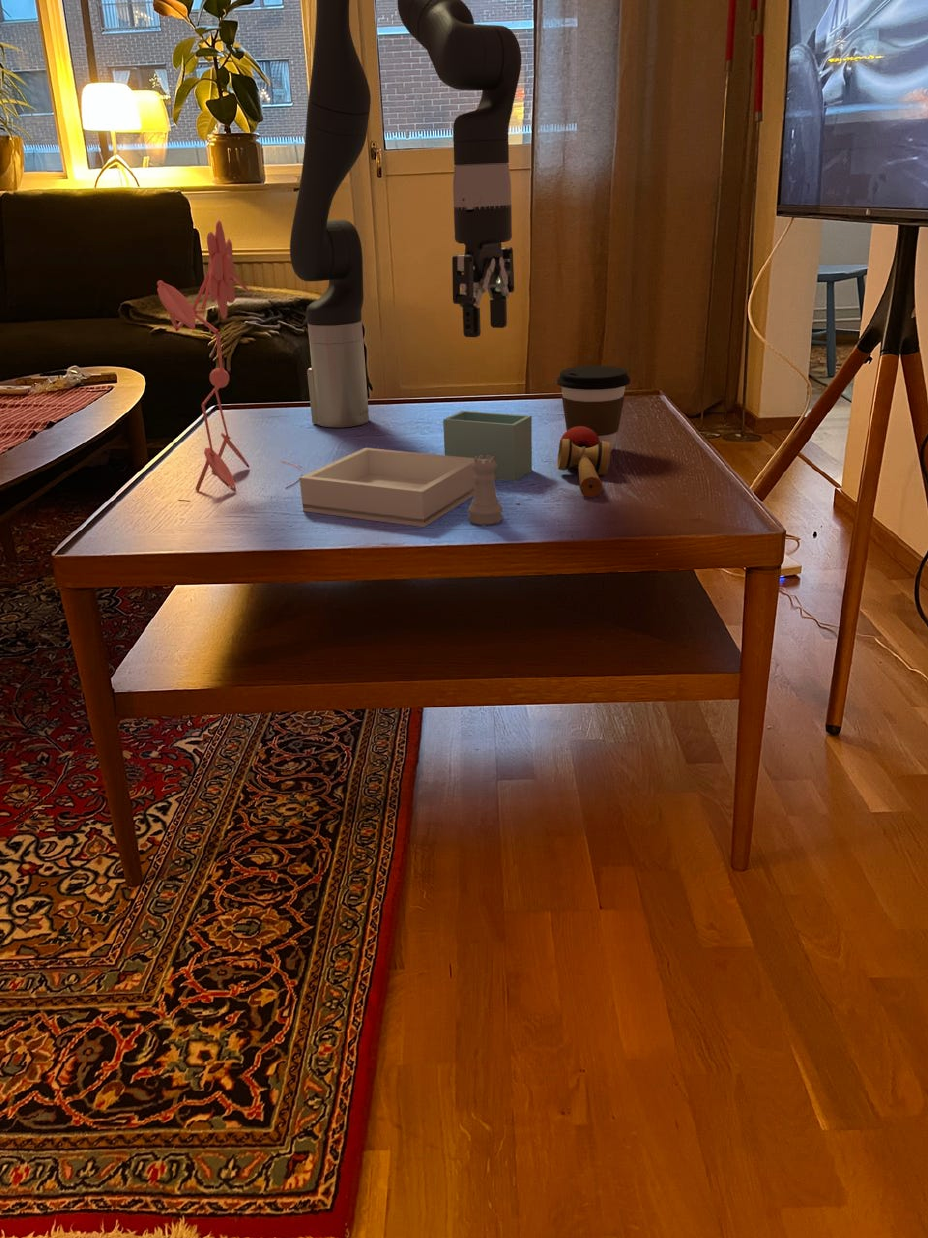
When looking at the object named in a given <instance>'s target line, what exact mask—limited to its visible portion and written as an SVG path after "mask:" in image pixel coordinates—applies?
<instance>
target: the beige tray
mask: <svg viewBox="0 0 928 1238" xmlns="http://www.w3.org/2000/svg"><path fill="white" fill-rule="evenodd" d="M473 462H474V458H467V457H456V456H446V455H445V454H444V455H443V454H437V453H436V454H435V453H423V452H414V451H405V450H393V449H382V448H375V447H374V448H373V447H364V448H361V449H359V450H357V451H355V452H353V453H350V454H349V455H346V456H344V457H342V458H339V459H337V460H336V461H333V462H331V463H328V464H327V465H324V466H323V467H320V468H318V469H316V470H313V471H311V472H309V473H307V474H305V475H302V477H301V476H299V479H300V480H299V484H300V486H299V487H300V493H301V504H302V505H301V506H302V510H303V511H302V512H306V513H307V512H308V513H315V514H324V515H329V516H337V517H338V516H339V517H344V518H345V517H347V518H352V519H360V520H368V521H374V522H384V523H390V524H398V525H404V526H411V527H420V528H425V527H426V526H428V525H430V524H431V523H433V522H435V521H436V520H437V519H439V518H441V517H442V516H444V515H445V514H447V513H449V512H450V511H452V510H453V509H455V508H456V507H458V506H459V505H461V504H463V503H465V502H466V501H467V500H469V499H470V498H472V497H474V489H475V480H474V479H473V477H474V476H475V472H474V470H473V469H472V467H471V465H472V463H473Z"/></svg>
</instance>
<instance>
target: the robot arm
mask: <svg viewBox="0 0 928 1238" xmlns="http://www.w3.org/2000/svg"><path fill="white" fill-rule="evenodd" d="M315 1H316V4H315V7H316V8H315V10H316V11H315V34H314V44H313V45H314V47H313V57H312V65H311V66H312V68H311V75H310V76H311V77H310V85H309V91H308V99H307V109H306V110H307V111H306V122H305V139H304V150H303V158H302V167H301V176H300V180H299V181H300V182H299V190H298V194H297V200H296V205H295V209H294V214H293V220H292V224H291V225H292V226H291V229H290V230H291V231H290V240H289V256H290V263H291V267H292V270H293V272H294V273H295V274H294V275H296V276H297V277H298V279H300V280H301V281H305V282H323V281H328V287H327V289H326V291H325V292H324V293H323V294H322V295H321V296H320V297H319V298H318V299H316V300H314V301H313V302H311V303H310V304H309V305H307V306H306V322H307V329H308V330H307V331H308V342H309V343H308V344H309V351H310V362H311V367H309V368H308V369H307V371H306V372H307V382H308V384H307V385H308V392H309V393H308V394H309V401H310V412H311V413H310V414H311V422H312V424H314V425H317V426H321V427H325V428H350V427H355V426H356V427H357V426H360V425H365V424H366V423H368V422H369V421H370V417H369V416H370V415H369V412H370V411H369V410H370V409H369V402H368V399H369V398H368V389H367V384H368V383H367V373H366V361H365V360H366V357H365V348H364V334H363V333H364V332H363V322H362V310H363V306H364V296H365V295H364V271H363V270H364V268H363V267H364V264H363V263H364V261H363V249H362V241H361V238H360V235H359V232H358V230H357V229H356V226H354V224H353V223H352V222H351V221H349V220H346V219H328V218H329V214H330V209H331V207H332V202H333V199H334V197H335V195H336V193H337V191H338V189H339V187H340V186H341V184H342V183H343V181H344V180H345V178H346V177H347V175H348V174H349V173H350V171H351V170H352V168H353V167H354V166H355V164H356V162H357V160H358V159H359V157H360V155H361V153H362V152H363V149H364V146H365V142H366V139H367V136H368V135H367V134H368V127H369V118H370V110H371V103H372V100H371V99H372V98H371V96H372V95H371V89H370V85H369V83H368V82H369V81H368V79H367V76H366V74H365V71H364V67H363V65H362V62H361V61H360V57H359V56H358V54H357V53H358V52H357V50H356V48H355V44H354V42H353V38H352V33H351V29H350V0H315ZM397 11H398V16H399V18H400V20H401V23H402V24H403V26H404V28H405V29H406V30H407V32H409V34H410V35H411V36H412V37H413V38H414V39H415V40H416V41H417V42H418V43H419V44H420V45H421V46H422V48H424V49H426V51H427V54H428V56H429V59H430V60H431V63H432V65H433V67H434V69H435V73H436V75H437V77H438V78H439V80H440V81H441V82H442V83H443V84H445V85H446V86H448V87H450V88H452V89H454V90H459V91H482V92H481V98H480V100H479V103H478V106H477V108H476V109H475V110H472V111H468V112H465V113H462V114H460V115H458V116H456V118H455V119H454V120H453V121H454V122H453V127H452V142H453V164H454V166H453V178H452V179H453V180H452V193H453V194H452V195H453V199H452V201H453V225H454V226H453V227H454V240H455V242H456V244H463V245H464V246H465V247H464V253H463V254H453V256H452V260H451V261H452V262H451V263H452V267H451V268H452V271H451V272H452V302H453V304H455V305H459V307H460V308H462V328H463V329H462V330H463V335H464V337H465V338H478V337H480V335H482V334H481V333H482V332H481V331H482V330H481V307H480V304H481V301H482V296H483V294H484V293H486V292H488V295H489V298H490V300H489V305H490V307H489V309H490V310H489V312H490V317H489V318H490V326H491V328H493V329H496V328H497V329H503V328H506V327H507V326H508V325H507V324H508V315H507V313H508V312H507V311H508V310H507V309H508V308H507V304H508V303H507V300H508V299H509V297H510V294H511V293H514V292H515V275H514V274H515V271H514V267H515V266H514V250H513V247H511V246H507V247H506V246H504V247H502V243H507V242H509V241H511V240H512V238H513V237H512V236H513V230H512V229H513V228H512V227H513V224H512V218H513V217H512V215H513V214H512V181H511V179H512V178H511V173H510V164H509V162H510V157H509V156H510V155H509V152H510V151H509V128H510V122H511V118H512V112H513V108H514V102H515V98H516V94H517V90H518V89H517V88H518V84H519V81H520V76H521V71H522V70H521V69H522V52H521V46H520V43H519V41H518V38H517V36H516V34H515V33H514V32H513V30H511V29H510V28H509V27H506V26H503V25H498V24H497V25H496V24H495V25H494V24H493V25H492V24H475V21H474V17H473V14H472V12H471V10H470V8H469V7H468V6H467V4H465V2H464V1H463V0H397Z"/></svg>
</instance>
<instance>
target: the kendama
mask: <svg viewBox="0 0 928 1238" xmlns="http://www.w3.org/2000/svg"><path fill="white" fill-rule="evenodd" d="M611 452H612V451H611V449H610V443H609V442H604V441H601V442H600V440H599V438H598V436H597V434H596V433H595V432H594V431H593V430H591V429H590V428H587V427H583V426H577V427H573V428H571V429H569V430H568V431H567V430H566V431H565V432H564V434H562V436H561V438H560V440H559V444H558V454H557V463H556V464H557V470H558V471H567V470H568V469H569V468H574V469H578V478H579V479H578V480H579V490H580V493H581V494H582V495H583V496H584V497H586V498H594V497H597V496H599V495H600V494H601V493H602V490H603V483H602V480H601V479H600V477H599V476H601V477H602V476H606V475H607V473H608V469H609V466H610V461H611Z"/></svg>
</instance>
